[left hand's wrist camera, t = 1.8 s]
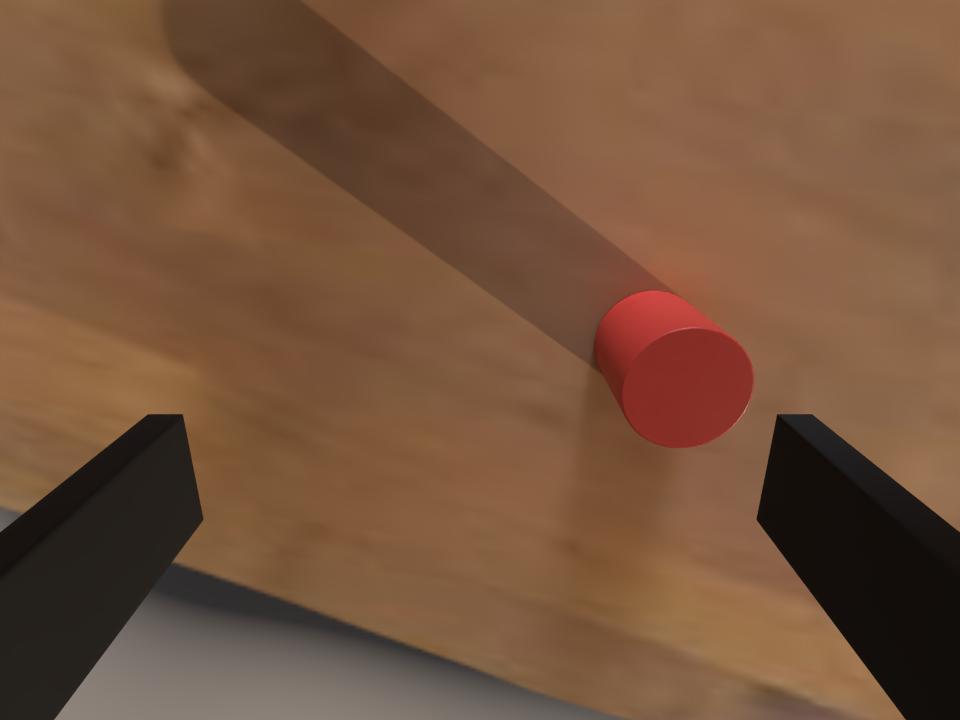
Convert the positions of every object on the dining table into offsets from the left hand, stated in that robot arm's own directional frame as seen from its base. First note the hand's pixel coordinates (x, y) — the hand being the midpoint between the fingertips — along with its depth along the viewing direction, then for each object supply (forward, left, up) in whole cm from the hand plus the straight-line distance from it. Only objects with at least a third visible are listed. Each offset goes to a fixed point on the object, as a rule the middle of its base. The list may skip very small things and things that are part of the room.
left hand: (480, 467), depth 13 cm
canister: (-4, +5, -10) cm, 12 cm away
